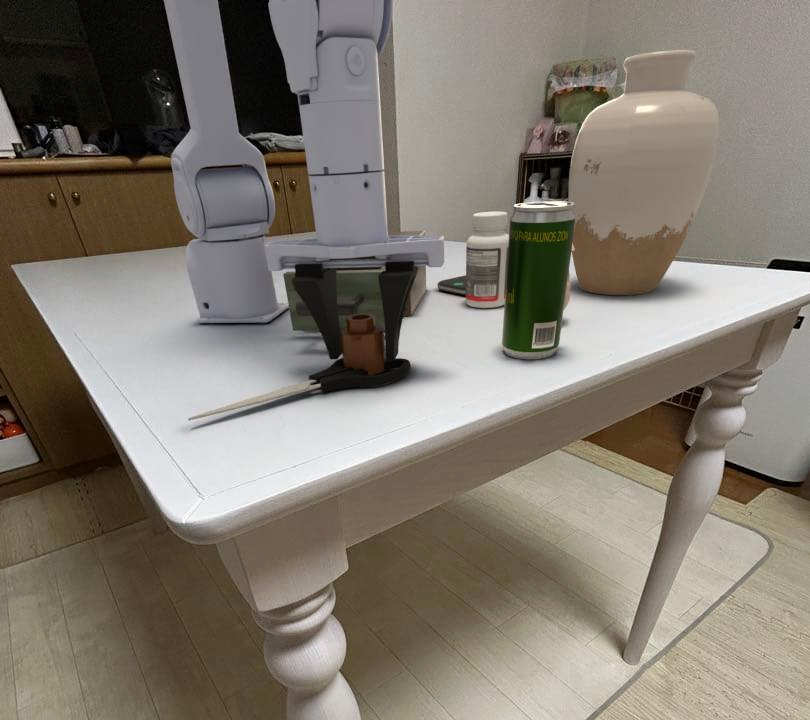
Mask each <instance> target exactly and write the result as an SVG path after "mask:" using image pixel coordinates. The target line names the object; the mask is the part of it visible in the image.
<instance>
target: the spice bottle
mask: <svg viewBox="0 0 810 720" xmlns="http://www.w3.org/2000/svg"><path fill="white" fill-rule="evenodd" d="M346 321H347V326H346V327H343V328H342V329H341V330H340V338H341V347H342V354H341V355H342V358H343V363H344V366H345V368H347V367H353V368H354V369H356V368H360V369H364V370H367V371H368V375H370V376H371V375H373V374H375V375H378V374H377V373H379V374H381V373H380V372H382V371H384V363H385V361H386V351H385V330H384V327H382V326H381V325H378V324H375V316H374V315H372V314H355V315H351V316H348V317H347V318H346ZM382 373H383V372H382Z"/></svg>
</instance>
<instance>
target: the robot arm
mask: <svg viewBox="0 0 810 720" xmlns="http://www.w3.org/2000/svg"><path fill="white" fill-rule="evenodd" d="M268 1H269V2H268V4H267V5H268V13H269V16H270V22H271V26H272V30H273V34H274V36H275V39H276V42H277V44H278V46H279V49H280V51H281V53H282V57H283V62H284V66H285V72H286V79H287V84H289V88H290V91H291V93H294V94H295V95H297V102H298V108H299V114H300V116H299V117H300V124H301V131H302V138H303V146H304V153H305V162H306V168H307V175H308V176H307V177H308V183H309V191H310V198H311V199H310V200H311V205H312V206H311V207H312V213H313V219H314V229H315V237H316V238H309V239H308V238H307V239H296V240H293V239H292V240H279V241H278V240H277V241H276V240H275V241H271V242H268V243H267V239H266V235H268V234H269V235H270V227H271V226H272V225H273V223H274V219H275V216H276V202H275V195H274V191H273V187H272V184H271V182H270V179H269V175H268V170H267V166H266V161H265V158H264V155H263V154H262V152H261V151H260V150H259V149H258V148H257V147H256V146H255V145H253V143H251V142H250V141H249V140H248V139H247V138H245V137H244V136H243V135H242V134H241V133H240V132H239V125H238V119H237V112H236V107H235V100H234V94H233V93H234V92H233V89H232V88H233V87H232V81H231V74H230V69H229V63H228V56H227V49H226V44H225V38H224V32H223V26H222V19H221V13H220V8H219V7H220V6H219V1H218V0H163V2H164V8H165V12H166V17H167V22H168V28H169V32H170V37H171V40H172V46H173V51H174V55H175V60H176V64H177V69H178V75H179V79H180V84H181V88H182V89H181V90H182V93H183V99H184V103H185V107H186V113H187V118H188V123H189V127H190V128H189V131H188V133H187V134H186V135H185V136H184V138H183V139H182V140H181V141H180V142H179V144H177V146H176V147H175V148H174V150H173V152H172V153H171V155H170V159H171V160H170V165H171V169H172V170H171V171H172V175H173V189H174V195H175V201H176V204H177V208H178V211H179V214H180V216H181V218H182V222H183V224H184V225H185V227H186V229H187V230H188V231H189V232H190V233H191V234H192V235H193V236H195V237H196V238H194V239H192V240H190V241H189V242H188V244H187V245H186V248H185V265H186V271H187V274H188V278H189V281H190V284H191V285H190V286H191V288H192V292H193V295H194V299H195V303H196V307H197V310H198V314H199V318H198V319H197V322H198V323H200V324H235V323H236V324H238V323H239V324H241V323H242V324H243V323H245V324H247V323H250V324H251V323H252V324H253V323H255V324H257V323H259V324H260V323H262V324H264V323H270V322H271V321H273V320H274V319H275V318H277V317H278V316H279V315H280V314H282V313H284V312H285V311H286V310H288V309H289V304H288V302H278V299H277V292H276V288H275V287H276V286H275V283H274V278H273V277H274V276H273V272H281V271H283V270H294V272H296V273H295V277H294V278H293V279H292V284H293V287H294V290H295V291H296V292H297V293H298V295H299V296H300V298H301V299H302V300H303V302H304V303H305V305H306V307H307V308H308V310H309V311H310V313H311V315H312V317H313V319H314V320H315V322H316V324H317V326H318V329H319V333H320V335H321V337H322V340H323V343H324V345H325V348H326V351H327V354H328V357H329V360H339V359H340V356H341V355H342V347H341V338H340V330H341V329H340V323H339V317H338V306H337V268H353V267H385V268H386V270H385V271H382V272H381V273H380V274H379V275H378V280H379V286H380V291H381V298H382V304H383V312H384V320H385V330H384V338H385V352H386V358H387V360H395V359H396V358H397V356H398V354H399V345H400V336H401V335H400V334H401V330H402V323H403V320H404V316H403V315H404V311H405V308H406V304H407V301H408V298H409V295H410V292H411V289H412V286H413V283H414V280H415V278H416V275H417V272H418V267H417V266H426V267H428V268H442V266H443V265H444V263H445V236H444V235H425V236H392V235H388V232H389V227H388V226H389V225H388V211H387V210H388V209H387V194H386V175H385V159H384V158H385V157H384V142H383V141H384V140H383V127H382V111H381V110H382V107H381V93H380V92H381V91H380V76H379V60H378V59H379V58H378V57H379V56H380V55H381V53H382V52H383V50H384V48H385V45H387V42H388V38H389V35H390V30H391V25H392V20H393V19H392V18H393V7H394V6H393V5H394V3H393V2H394V0H268ZM237 165H241V166H237ZM222 166H235V167H222ZM209 167H221V168H209ZM204 168H207V169H204ZM369 256H375V258H377V259H353V260H330V258H331V259H340V258H358V257H369ZM387 258H390V259H387Z"/></svg>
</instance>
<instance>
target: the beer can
mask: <svg viewBox="0 0 810 720" xmlns="http://www.w3.org/2000/svg"><path fill="white" fill-rule="evenodd" d="M574 205H575V203H573V202H569V201H562V200H559V201H557V200H555V201H552V200H551V201H550V200H549V201H534V202H533V201H532V202H531V201H529V202H522V203H516V204H514V205H513V210H514V211H513V213H512V215H511V216H510V219H509V231H508V235H509V244H508V259H507V274H506V289H505V304H504V305H503V322H502V323H503V324H502V337H501V338H502V339H501V345H502V347H503V350H504V353H505V354H506V355H507V356H509V357H511V358H514V359H520V360H540V359H541V360H542V359H547V358H550V357H552V356H553V355H554V354H555V353H556V351H557V349H558V347H559V345H560V339H561V333H562V332H561V331H562V326H563V325H562V324H563V317H564V311H565V309H564V303H565V295H566V288H567V280H568V273H570V265H571V256H572V252H571V250H572V242H573V235H574V227H575V220H576V217H575V213H574V210H573V208H574ZM563 310H564V311H563Z"/></svg>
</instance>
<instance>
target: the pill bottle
mask: <svg viewBox="0 0 810 720" xmlns="http://www.w3.org/2000/svg"><path fill="white" fill-rule="evenodd" d="M471 226H472V229H473V230H474V232H473V234H472V235H471V236H469V237H468V239H467V241H466V246H465V247H466V248H465V249H466V251H465V252H466V253H465V254H466V255H465V256H466V257H465V275H466V295H465V303H466V305H468V306H469V307H472V308H479V309H480V308H481V309H492V308H493V309H494V308H499V307H502V306H504V305H505V289H506V274H507V259H508V244H509V233H507V232H506V231H505V229H506V228H508V212H507V211H483V212H476V213H474V214H473V215H472V225H471Z"/></svg>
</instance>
